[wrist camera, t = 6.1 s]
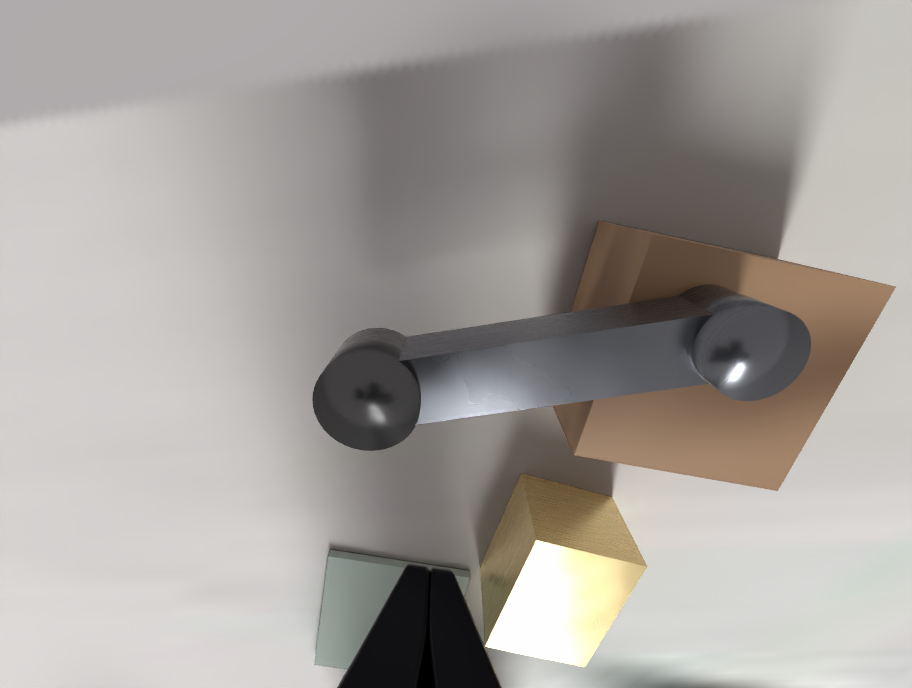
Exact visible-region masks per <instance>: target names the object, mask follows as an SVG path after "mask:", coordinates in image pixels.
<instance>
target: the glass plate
mask: <svg viewBox="0 0 912 688" xmlns="http://www.w3.org/2000/svg"><path fill="white" fill-rule="evenodd" d="M410 563H411V564H418V565H424V566H427V567H428V568H429V570H430V569H431V568H432V567H437V568H444V569H450V570H452V571H453V573H454V574H455V577H456V579H457V581H458V584H459V586H460V589H461V591H462V593H463V596H464V597H465V594H466V590H467V587H468V583H469V580H470V571H468V570H461V569H454V568H448V567H441V566H435V565H428V564H421V563H415V562H408V561H402V560H395V559H389V558H382V557H375V556H369V555H362V554H356V553H349V552H342V551H336V550H330V552H329V555H328V561H327V569H326V577H325V585H324V593H323V601H322V609H321V616H320V624H319V632H318V640H317V648H316V656H315V664H314V665H318V666H326V667H333V668H341V669H348V668H349V666H350V664H351V662H352V661H353V659H354V657H355V655H356V653H357V652H358V650H359V648H360V646H361V645H362V643H363V641H364V639H365V637H366V636H367V634H368V632H369V630H370V629H371V627H372V625H373V623H374V621H375V620H376V618H377V616H378V614H379V613H380V611H381V609H382V607H383V605H384V604H385V602H386V600H387V598H388V596H389V595H390V593H391V591H392V589H393V588H394V586H395V584H396V582H397V580H398V579H399V577H400V575H401V573H402V572H403V570H404V568H405V566H406V565H407V564H410Z"/></svg>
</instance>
